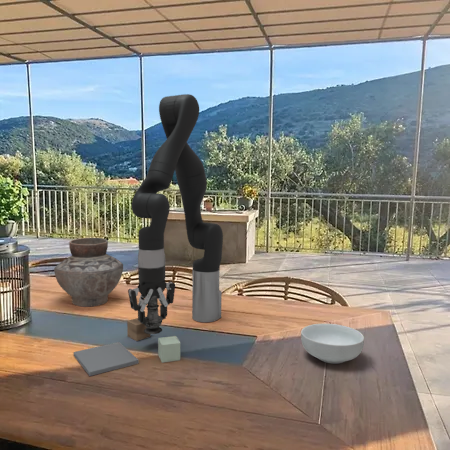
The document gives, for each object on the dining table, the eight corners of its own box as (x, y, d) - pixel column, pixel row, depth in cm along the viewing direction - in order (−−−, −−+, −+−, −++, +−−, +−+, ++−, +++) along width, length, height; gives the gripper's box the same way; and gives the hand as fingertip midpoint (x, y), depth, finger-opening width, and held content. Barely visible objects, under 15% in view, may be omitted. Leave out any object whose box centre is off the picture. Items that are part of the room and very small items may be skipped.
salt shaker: (159, 335, 121) (158, 294, 119) (139, 333, 122) (138, 293, 120) (166, 327, 127) (165, 288, 125) (147, 326, 128) (146, 286, 126)
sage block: (175, 352, 121) (175, 335, 121) (180, 360, 117) (180, 342, 116) (158, 355, 120) (158, 338, 119) (162, 362, 115) (162, 345, 114)
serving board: (119, 345, 125) (119, 341, 125) (138, 363, 114) (138, 359, 114) (73, 355, 118) (73, 352, 118) (89, 376, 107) (89, 372, 107)
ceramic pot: (113, 313, 152) (112, 247, 149) (43, 312, 152) (41, 245, 149) (130, 293, 177) (129, 235, 173) (70, 291, 177) (68, 234, 174)
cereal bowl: (363, 350, 125) (365, 327, 124) (361, 376, 110) (363, 349, 109) (304, 341, 131) (305, 319, 130) (295, 365, 115) (296, 339, 114)
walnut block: (141, 332, 136) (141, 317, 135) (150, 337, 132) (150, 321, 132) (127, 336, 132) (127, 320, 132) (136, 341, 129) (136, 325, 128)
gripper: (168, 258, 129) (169, 312, 131) (122, 264, 121) (124, 321, 123) (180, 263, 123) (181, 319, 125) (133, 270, 114) (134, 330, 117)
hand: (152, 320), depth 124 cm, fingers closed on salt shaker, 6 cm apart
